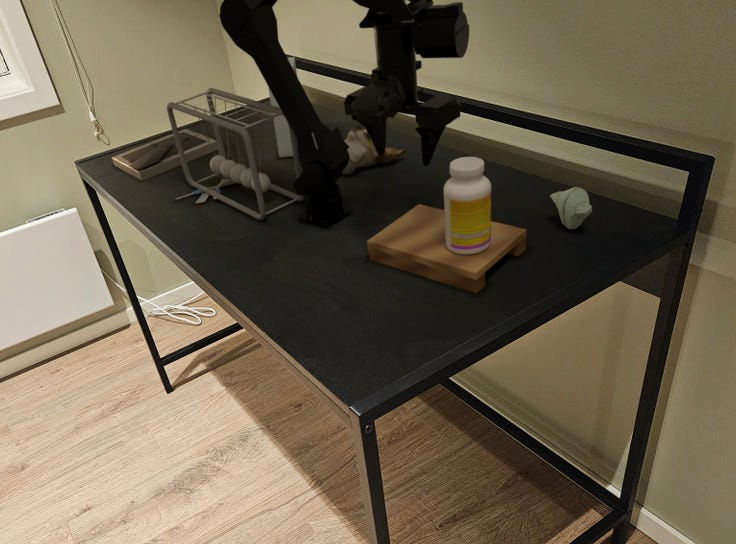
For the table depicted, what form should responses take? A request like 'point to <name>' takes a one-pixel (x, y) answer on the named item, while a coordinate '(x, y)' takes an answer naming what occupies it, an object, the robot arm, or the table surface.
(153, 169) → the picture frame
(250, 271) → the table surface
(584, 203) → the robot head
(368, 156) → the ceramic sculpture
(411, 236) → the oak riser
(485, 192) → the supplement bottle
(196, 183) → the newton's cradle
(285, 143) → the skincare box
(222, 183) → the key chain
